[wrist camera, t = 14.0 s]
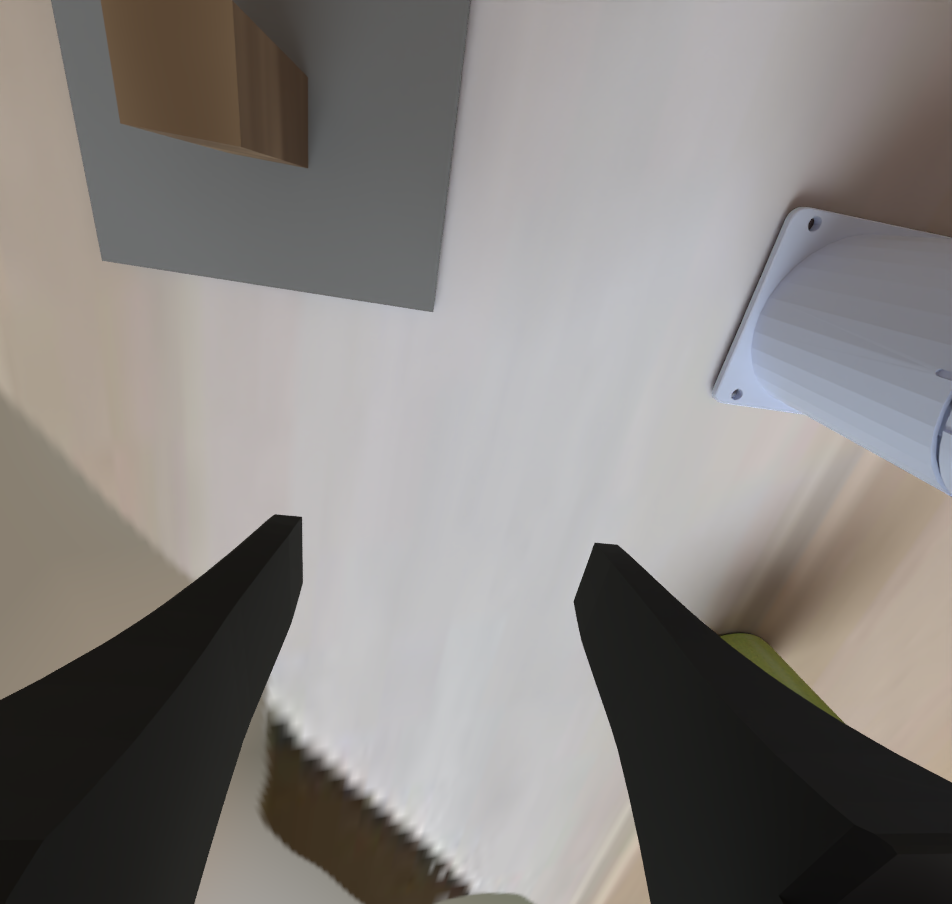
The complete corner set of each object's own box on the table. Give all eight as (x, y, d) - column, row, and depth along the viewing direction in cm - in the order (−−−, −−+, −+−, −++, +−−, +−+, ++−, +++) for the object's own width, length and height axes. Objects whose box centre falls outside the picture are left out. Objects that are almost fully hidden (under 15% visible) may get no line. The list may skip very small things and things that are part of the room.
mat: (484, -117, 13) (485, -126, 13) (433, 310, 18) (433, 312, 18) (11, -256, 11) (-3, -271, 11) (108, 259, 17) (102, 260, 16)
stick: (307, 77, 14) (232, 0, 9) (308, 168, 16) (241, 146, 10) (224, 58, 14) (95, -32, 9) (230, 153, 15) (120, 123, 10)
